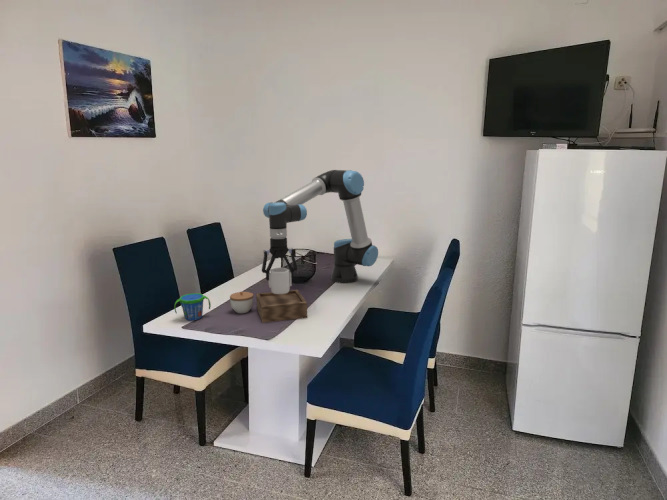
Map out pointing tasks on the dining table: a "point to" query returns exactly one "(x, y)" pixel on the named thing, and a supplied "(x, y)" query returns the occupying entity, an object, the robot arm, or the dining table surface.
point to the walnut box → (281, 306)
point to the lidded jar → (241, 301)
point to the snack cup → (192, 305)
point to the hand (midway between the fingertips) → (280, 286)
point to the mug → (280, 280)
